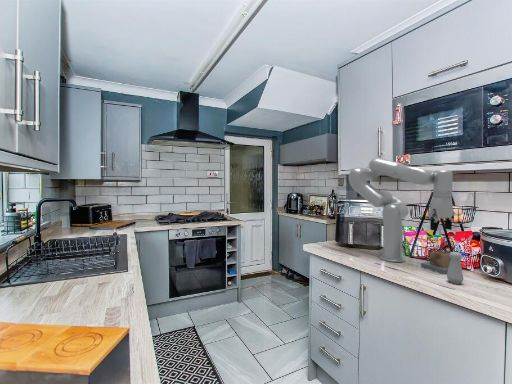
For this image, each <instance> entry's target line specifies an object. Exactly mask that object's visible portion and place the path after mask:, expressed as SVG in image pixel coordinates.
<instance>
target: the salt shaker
mask: <svg viewBox="0 0 512 384" xmlns="http://www.w3.org/2000/svg"><path fill="white" fill-rule="evenodd" d="M449 256H450V257H451V260H450V264H449V268H448V272H447V274H446V277H447V278H446V279H447V280H448V282H449V283H450V284H452V285H453V284H454V285H461V284H462V282H463V281H464V279H465V278H464V274H463V267H462V264H461V263H462V262H461V259H462V258H463V255H462V254H461V253H460V252H458V251H450V252H449ZM461 267H462V268H461Z"/></svg>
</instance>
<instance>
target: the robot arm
mask: <svg viewBox="0 0 512 384" xmlns="http://www.w3.org/2000/svg"><path fill="white" fill-rule="evenodd" d="M382 175H383V176H387V177H390V178H393V179H398V180H401V181H404V182H408V183H412V184H415V185H419V186H423V185H425V186H426V185H428V186H430V185H433V188H432V189H433V193H432V198H431V201H430V207H429V212H427V217H428V220H429V222H430V231H435V232H436V231H438V225H439V223H438V220H440V219H445V220H444V229H445V230H450V231H451V230H452V229H453V221H454V218H455V215H456V212H455V211H453V200H452V198H453V197H452V194H453V175H454V174H453V171H452V170H449V169H438V170H428V169H421V168H417V167H412V166H408V165H405V164H404V163H402V162H398V161H394V160H393V161H392V160H389V159H386V158H382V157H380V158H379V157H375V158H372V159H371V160H370V161H369V163H368V166H366V167H361V166H359V167H354V168H352V169H351V170H350V171H349V173H348V183H349V185H350V187H351V188H352V190H354V191H355V192H356V193H357V194H359V195H360V196H361V197H362V198H363V199H365V200H366V201H367V202H368V203H369V204H371V205H372V206H373V207H374V208H382V212H381V215H382V220H383V221H382V224H383V227H382V228H383V229H382V230H383V234H382V235H383V246H382V248H380V249H379V250H378V252H379V253H380V254H381V255H379V259H380V260H382V261H385V262H389V263H405V262H406V257H404V256H403V236H404V235H403V229H404V228H403V226H404V225H403V220H402V219H405V218H406V217H407V216H408V214H409V208H408V206H407V204H405V203H404V202H403V201H402V200H400V199H399V198H398V197H396V196H395V195H394V194H392V193H390V192H388V191H385V190H379V189H377V187H375V186H373V185H372V184H371V183H369V181H371V180H373V179H376V178H378V177H380V176H382Z"/></svg>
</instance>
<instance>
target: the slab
mask: <svg viewBox="0 0 512 384" xmlns="http://www.w3.org/2000/svg"><path fill="white" fill-rule="evenodd" d="M420 267H421V268H423V269H426V270H430V271H432V272H436V273H439V274H442V275H447V272H448V268H449V267H445V268H441V267H438V266H435V265H431V264H430V261H427V262H426V261H425V262H421V263H420ZM461 268H462V269H463V267H462V266H461Z"/></svg>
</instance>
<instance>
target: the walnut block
mask: <svg viewBox="0 0 512 384" xmlns="http://www.w3.org/2000/svg"><path fill="white" fill-rule="evenodd" d="M449 254H450V252H444V251H430V252H429V262H430V264H431V265H435V266H438V267H441V268H445V267H449V264H450V260H451V257H450V256H449Z"/></svg>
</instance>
